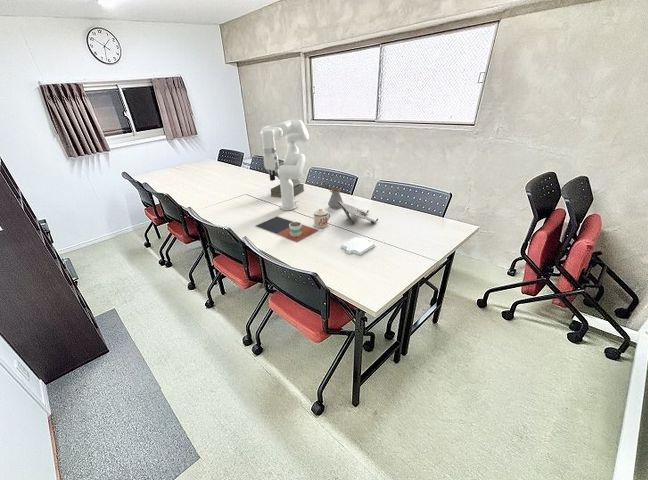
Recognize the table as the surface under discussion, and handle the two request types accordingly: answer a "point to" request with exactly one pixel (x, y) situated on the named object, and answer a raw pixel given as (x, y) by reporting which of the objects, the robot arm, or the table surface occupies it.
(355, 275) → the table surface
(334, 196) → the coffee pot
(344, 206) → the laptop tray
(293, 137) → the robot arm
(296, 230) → the cup
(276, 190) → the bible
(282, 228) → the felt runner
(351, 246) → the mounting plate
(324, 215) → the teacup with lid
